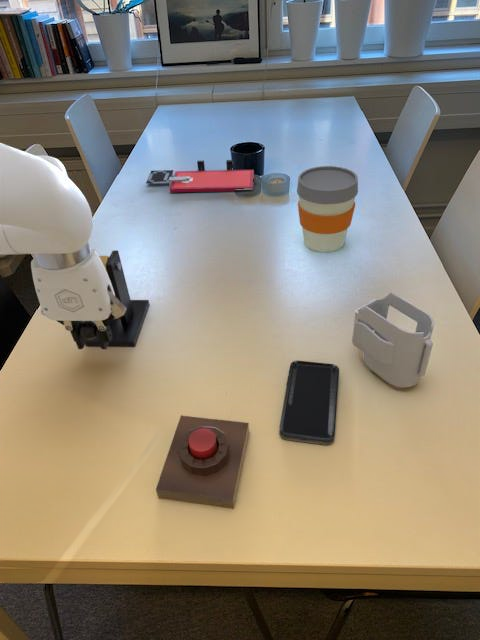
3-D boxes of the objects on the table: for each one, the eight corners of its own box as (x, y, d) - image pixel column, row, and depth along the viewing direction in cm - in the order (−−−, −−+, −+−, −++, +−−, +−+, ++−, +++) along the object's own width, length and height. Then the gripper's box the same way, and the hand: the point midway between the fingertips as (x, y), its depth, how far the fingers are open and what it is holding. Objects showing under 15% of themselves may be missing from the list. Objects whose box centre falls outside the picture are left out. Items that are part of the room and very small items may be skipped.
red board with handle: (152, 170, 145) (143, 194, 134) (151, 161, 143) (141, 184, 132) (254, 168, 143) (253, 192, 132) (254, 159, 141) (252, 182, 130)
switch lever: (100, 343, 78) (93, 334, 75) (81, 342, 78) (73, 334, 76) (116, 264, 85) (110, 254, 82) (98, 264, 85) (91, 254, 82)
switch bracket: (135, 346, 86) (116, 278, 77) (85, 346, 87) (61, 278, 78) (149, 304, 96) (134, 238, 86) (104, 304, 96) (85, 239, 87)
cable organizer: (371, 341, 84) (380, 284, 76) (431, 383, 76) (448, 324, 68) (343, 358, 81) (349, 301, 74) (402, 403, 73) (416, 345, 66)
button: (213, 460, 63) (212, 452, 62) (186, 457, 64) (185, 449, 63) (219, 438, 66) (218, 430, 65) (193, 435, 67) (192, 427, 66)
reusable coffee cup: (306, 223, 116) (308, 162, 107) (359, 232, 112) (366, 169, 102) (287, 250, 108) (288, 186, 98) (343, 261, 103) (349, 195, 94)
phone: (339, 364, 79) (334, 441, 67) (339, 369, 79) (333, 446, 68) (290, 359, 80) (277, 434, 69) (290, 364, 81) (277, 439, 70)
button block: (233, 509, 62) (231, 492, 59) (158, 498, 64) (153, 481, 61) (249, 432, 71) (248, 414, 68) (182, 424, 73) (179, 407, 70)
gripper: (-8, 265, 66) (38, 359, 78) (111, 264, 64) (139, 360, 76) (15, 234, 71) (55, 327, 84) (125, 233, 70) (149, 328, 82)
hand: (94, 342), depth 80 cm, fingers closed on switch lever, 3 cm apart
